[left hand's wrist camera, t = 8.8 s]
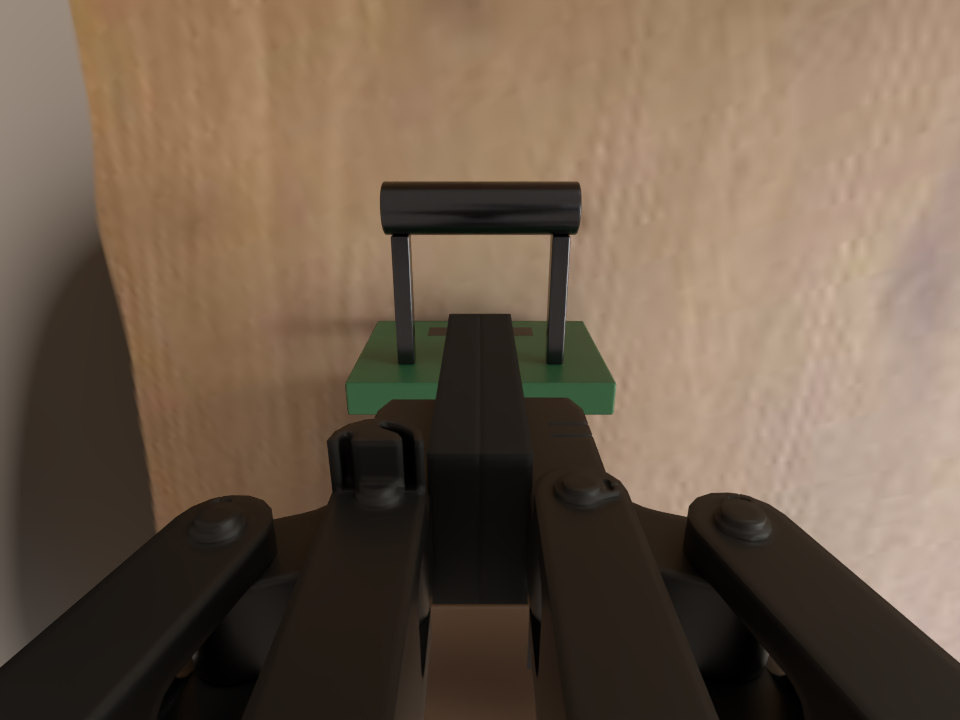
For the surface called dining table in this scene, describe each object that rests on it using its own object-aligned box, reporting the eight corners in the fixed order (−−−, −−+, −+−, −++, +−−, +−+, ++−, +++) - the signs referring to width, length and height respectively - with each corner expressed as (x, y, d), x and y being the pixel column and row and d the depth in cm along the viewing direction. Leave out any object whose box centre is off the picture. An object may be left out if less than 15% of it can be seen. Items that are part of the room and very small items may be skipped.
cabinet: (380, 475, 30) (342, 607, 21) (580, 475, 30) (618, 606, 21) (401, 756, 37) (379, 930, 29) (559, 756, 37) (581, 930, 29)
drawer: (367, 171, 23) (325, 187, 17) (593, 171, 23) (635, 186, 17) (400, 656, 33) (382, 781, 27) (559, 657, 33) (578, 780, 27)
